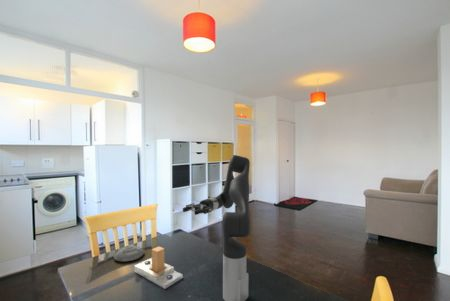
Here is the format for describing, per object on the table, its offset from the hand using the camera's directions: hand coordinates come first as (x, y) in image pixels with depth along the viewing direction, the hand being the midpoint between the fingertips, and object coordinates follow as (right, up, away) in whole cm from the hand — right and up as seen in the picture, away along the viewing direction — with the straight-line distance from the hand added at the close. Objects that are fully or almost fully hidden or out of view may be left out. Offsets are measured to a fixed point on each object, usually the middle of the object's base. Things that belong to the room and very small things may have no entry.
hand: (189, 211), depth 117 cm
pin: (-12, -26, -13) cm, 31 cm away
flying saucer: (-33, -26, +4) cm, 42 cm away
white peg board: (-12, -26, -13) cm, 31 cm away
